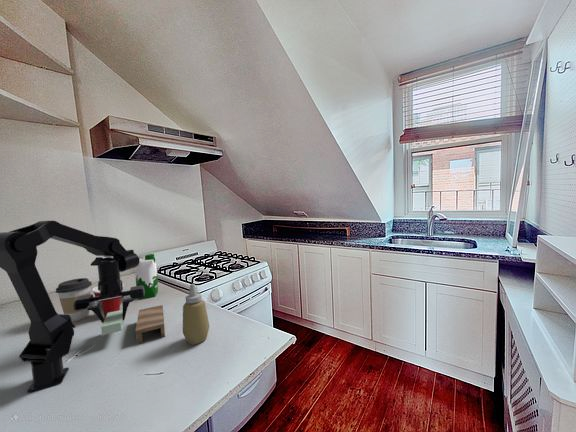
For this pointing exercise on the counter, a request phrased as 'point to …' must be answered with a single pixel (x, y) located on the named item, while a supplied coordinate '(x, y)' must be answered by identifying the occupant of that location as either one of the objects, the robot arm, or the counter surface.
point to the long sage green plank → (112, 322)
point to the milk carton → (147, 276)
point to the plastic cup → (108, 302)
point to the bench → (149, 321)
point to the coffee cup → (73, 297)
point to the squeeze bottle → (195, 318)
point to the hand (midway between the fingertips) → (114, 321)
